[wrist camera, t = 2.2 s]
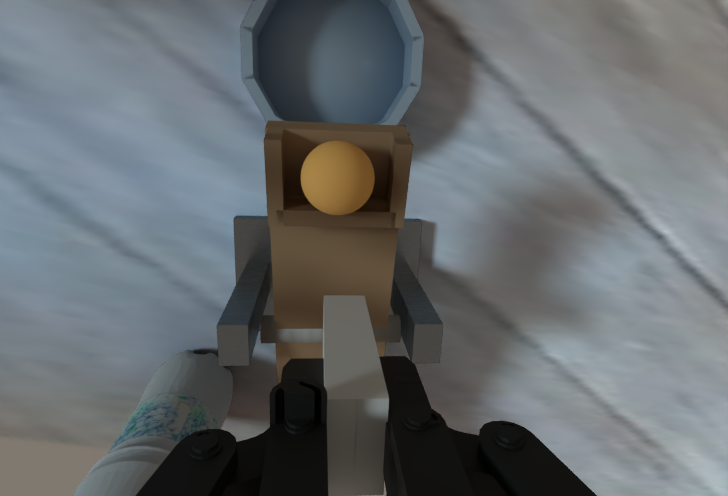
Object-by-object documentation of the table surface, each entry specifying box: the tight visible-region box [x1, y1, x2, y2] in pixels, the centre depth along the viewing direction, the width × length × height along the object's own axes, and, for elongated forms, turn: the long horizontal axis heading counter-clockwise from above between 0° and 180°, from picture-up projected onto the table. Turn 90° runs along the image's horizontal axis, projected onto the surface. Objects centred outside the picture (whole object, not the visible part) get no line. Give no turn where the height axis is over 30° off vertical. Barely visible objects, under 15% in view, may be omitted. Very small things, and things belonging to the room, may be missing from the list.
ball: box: [301, 140, 375, 215], centre depth 20 cm, size 3×3×3 cm
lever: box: [261, 120, 413, 384], centre depth 29 cm, size 22×8×8 cm, turn 177°
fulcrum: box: [217, 216, 443, 366], centre depth 31 cm, size 9×14×12 cm, turn 88°
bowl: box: [240, 0, 424, 125], centre depth 31 cm, size 11×11×4 cm
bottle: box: [74, 350, 233, 496], centre depth 29 cm, size 7×7×20 cm
